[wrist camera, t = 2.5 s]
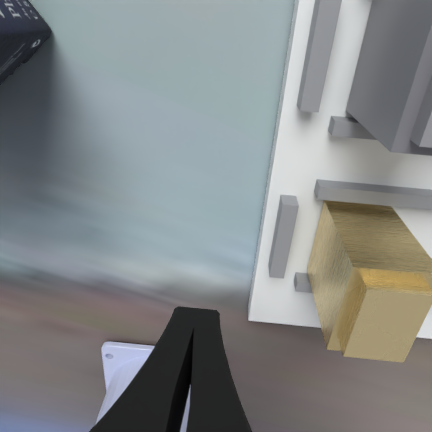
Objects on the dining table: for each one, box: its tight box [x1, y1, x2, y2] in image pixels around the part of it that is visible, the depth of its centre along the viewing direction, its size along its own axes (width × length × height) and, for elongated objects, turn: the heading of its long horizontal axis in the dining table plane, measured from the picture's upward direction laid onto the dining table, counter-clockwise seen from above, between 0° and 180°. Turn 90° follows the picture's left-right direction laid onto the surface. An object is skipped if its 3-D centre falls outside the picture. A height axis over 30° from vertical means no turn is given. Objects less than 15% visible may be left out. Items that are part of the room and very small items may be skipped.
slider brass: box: [307, 200, 432, 362], centre depth 15 cm, size 4×3×6 cm
